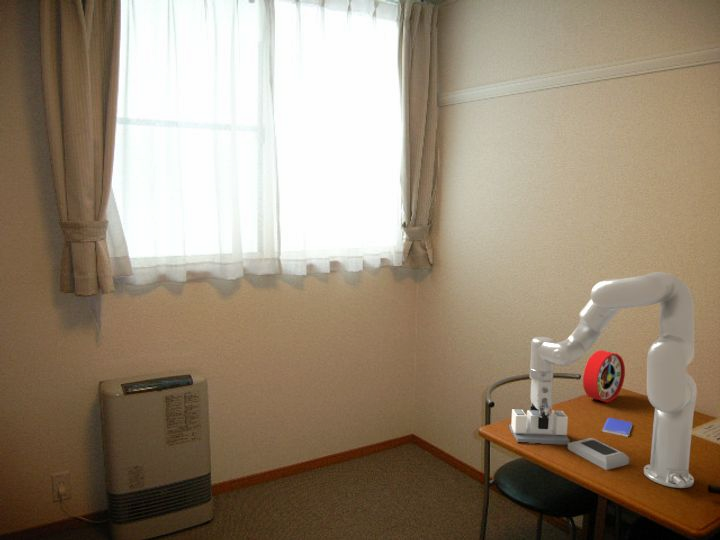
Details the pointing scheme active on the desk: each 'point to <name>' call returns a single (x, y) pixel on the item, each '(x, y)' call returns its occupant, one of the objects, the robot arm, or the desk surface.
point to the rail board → (555, 437)
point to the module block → (533, 422)
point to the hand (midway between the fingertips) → (538, 422)
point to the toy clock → (604, 376)
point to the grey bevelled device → (599, 453)
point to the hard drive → (617, 427)
